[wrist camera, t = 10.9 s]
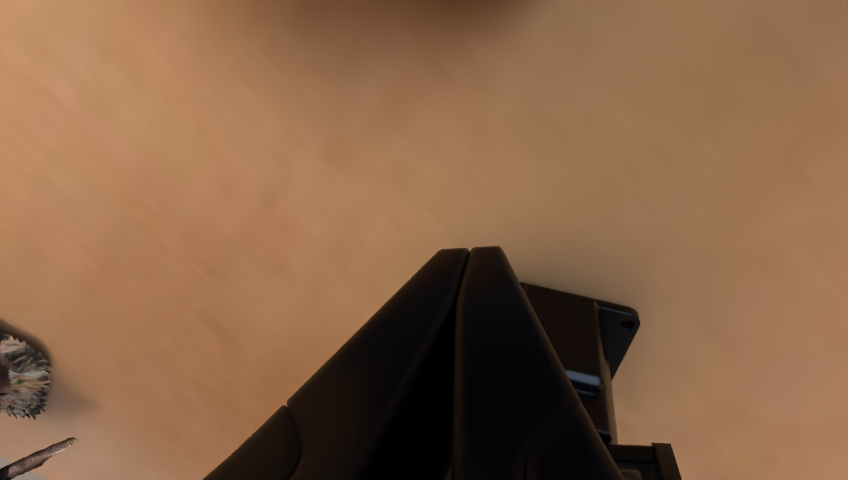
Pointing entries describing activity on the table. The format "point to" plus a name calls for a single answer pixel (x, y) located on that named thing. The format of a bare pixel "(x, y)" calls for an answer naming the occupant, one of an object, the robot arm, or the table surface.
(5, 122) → the table surface
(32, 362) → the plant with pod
